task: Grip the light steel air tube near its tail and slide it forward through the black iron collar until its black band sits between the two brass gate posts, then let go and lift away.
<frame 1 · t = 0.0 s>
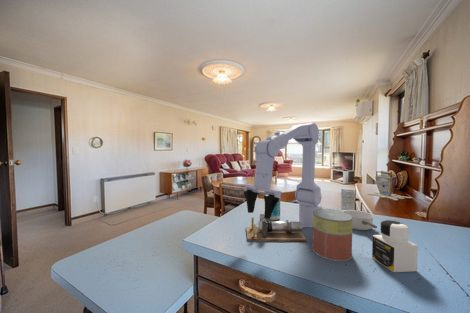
hand: (258, 215, 63), 11 cm above the worktop, tool pointing down, fingers open, 7 cm apart
saucepan: (361, 231, 78), on the worktop
canned food: (331, 252, 61), on the worktop
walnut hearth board: (274, 234, 73), on the worktop
pill bottle: (272, 218, 92), on the worktop
air tube: (279, 226, 73), point 3 cm above the worktop, slide at 0.0 cm
iron collar: (263, 234, 73), resting on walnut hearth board
brass index gate: (253, 234, 73), resting on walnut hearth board
medicine bottle: (393, 265, 54), on the worktop
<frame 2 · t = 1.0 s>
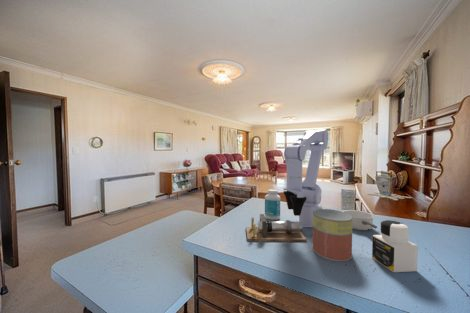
hand: (293, 212, 73), 9 cm above the worktop, tool pointing down, fingers open, 7 cm apart
nothing on the worktop moved.
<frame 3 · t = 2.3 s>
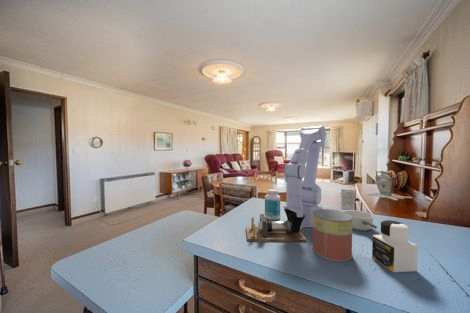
hand: (293, 229, 73), 2 cm above the worktop, tool pointing down, fingers closed on air tube, 4 cm apart
air tube: (279, 226, 73), point 3 cm above the worktop, slide at 0.0 cm, touching gripper
everything else where it was.
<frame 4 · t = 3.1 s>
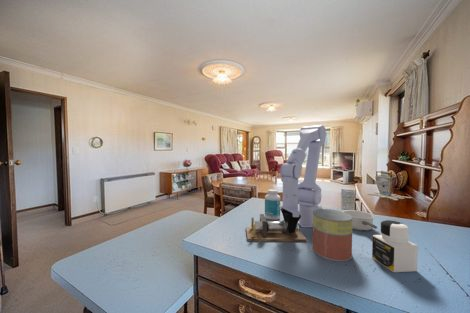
hand: (289, 229, 73), 2 cm above the worktop, tool pointing down, fingers closed on air tube, 4 cm apart
air tube: (275, 226, 73), point 3 cm above the worktop, slide at 1.5 cm, touching gripper
everything else where it was.
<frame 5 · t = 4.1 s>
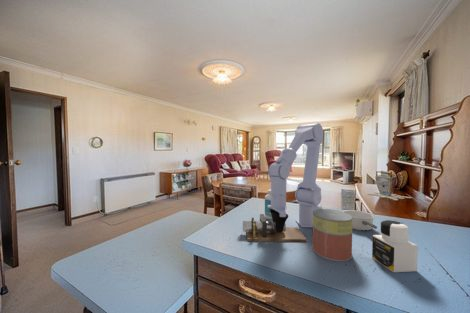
hand: (278, 229, 73), 2 cm above the worktop, tool pointing down, fingers closed on air tube, 4 cm apart
air tube: (263, 226, 73), point 3 cm above the worktop, slide at 6.0 cm, touching gripper
everything else where it was.
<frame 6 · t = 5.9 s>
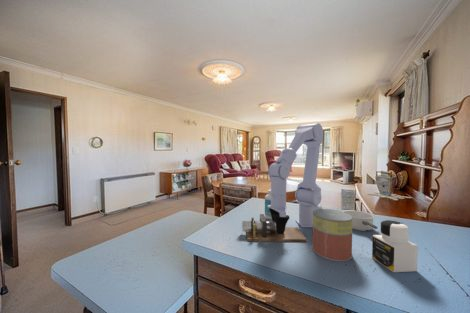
hand: (278, 229, 73), 2 cm above the worktop, tool pointing down, fingers open, 7 cm apart
air tube: (263, 226, 73), point 3 cm above the worktop, slide at 6.2 cm
everything else where it was.
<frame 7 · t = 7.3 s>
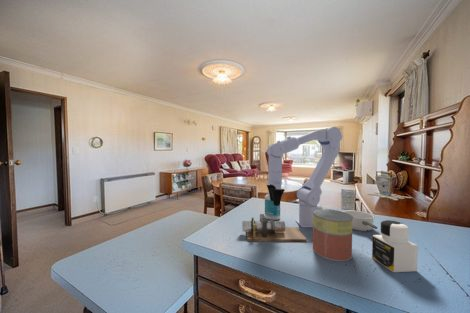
hand: (274, 202, 82), 10 cm above the worktop, tool pointing down, fingers open, 7 cm apart
nothing on the worktop moved.
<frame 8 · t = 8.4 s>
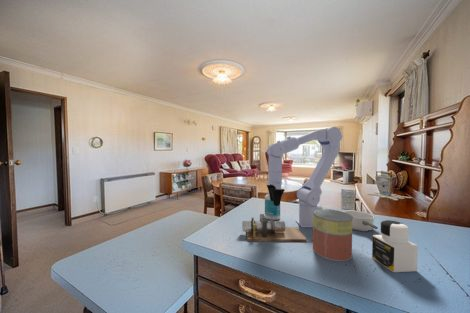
hand: (274, 202, 82), 10 cm above the worktop, tool pointing down, fingers open, 7 cm apart
nothing on the worktop moved.
at the end: air tube slide at 6.2 cm; the gripper is holding nothing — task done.
